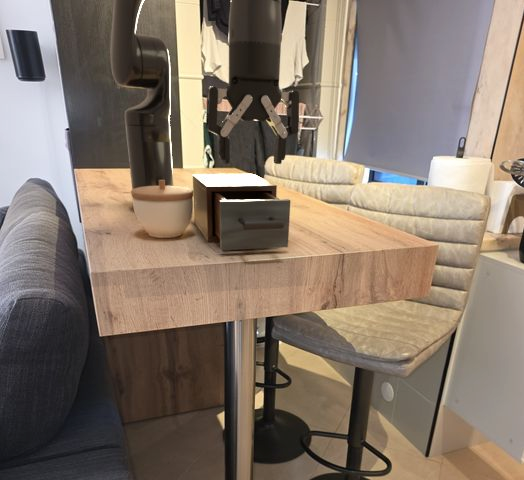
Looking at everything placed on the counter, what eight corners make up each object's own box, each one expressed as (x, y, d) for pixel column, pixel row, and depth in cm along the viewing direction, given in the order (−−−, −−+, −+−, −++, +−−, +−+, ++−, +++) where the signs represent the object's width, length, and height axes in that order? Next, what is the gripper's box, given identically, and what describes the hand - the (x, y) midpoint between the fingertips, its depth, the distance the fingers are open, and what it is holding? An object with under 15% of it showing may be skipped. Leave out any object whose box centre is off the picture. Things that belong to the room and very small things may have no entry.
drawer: (298, 255, 70) (301, 206, 67) (228, 259, 67) (227, 207, 64) (263, 227, 87) (264, 186, 83) (205, 229, 84) (204, 187, 80)
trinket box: (132, 229, 86) (126, 176, 82) (187, 226, 90) (185, 175, 85) (139, 243, 77) (133, 185, 73) (200, 239, 81) (199, 183, 77)
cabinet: (274, 239, 83) (276, 185, 78) (207, 241, 79) (206, 186, 75) (252, 220, 96) (253, 174, 92) (194, 222, 93) (192, 174, 89)
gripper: (293, 48, 70) (286, 161, 78) (201, 41, 66) (204, 160, 74) (310, 43, 64) (301, 166, 71) (210, 34, 60) (212, 166, 68)
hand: (252, 163), depth 73 cm, fingers open, 8 cm apart
